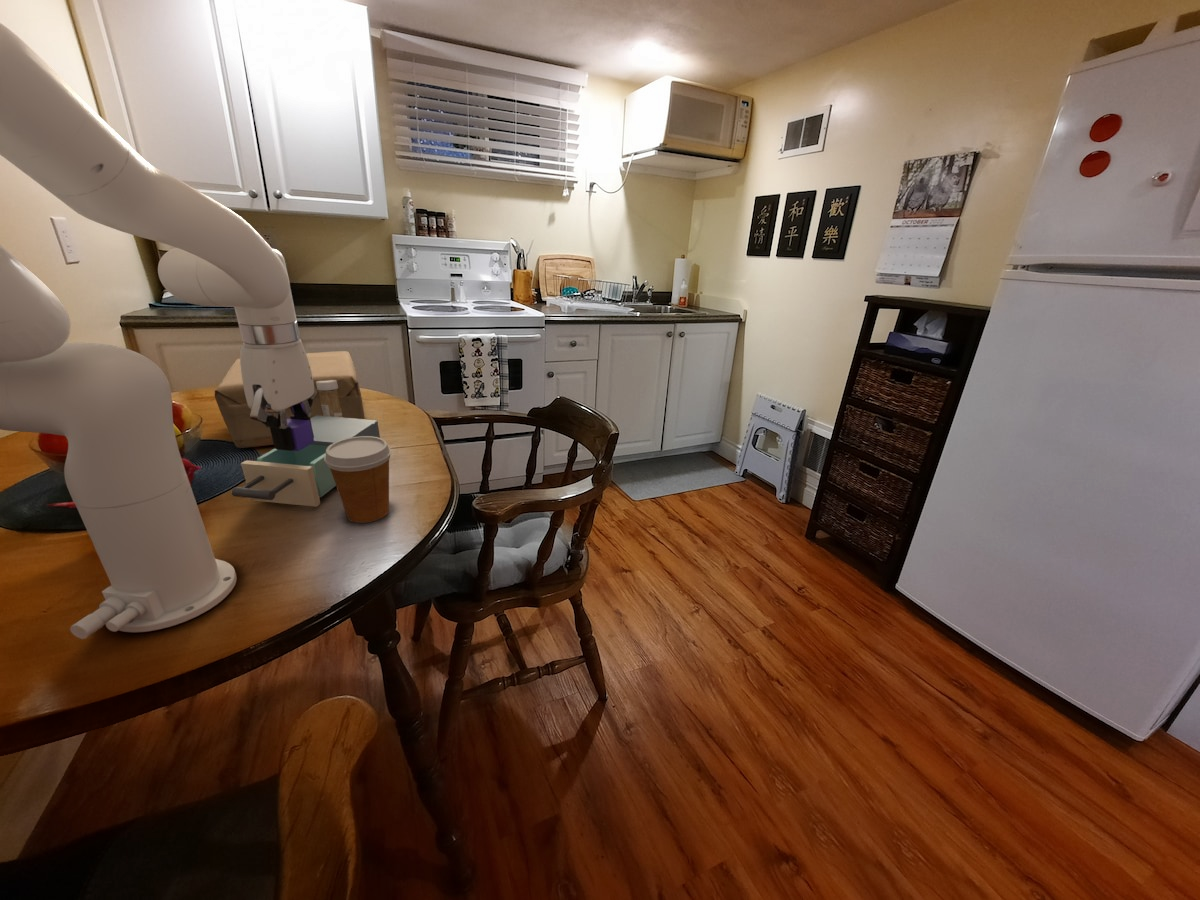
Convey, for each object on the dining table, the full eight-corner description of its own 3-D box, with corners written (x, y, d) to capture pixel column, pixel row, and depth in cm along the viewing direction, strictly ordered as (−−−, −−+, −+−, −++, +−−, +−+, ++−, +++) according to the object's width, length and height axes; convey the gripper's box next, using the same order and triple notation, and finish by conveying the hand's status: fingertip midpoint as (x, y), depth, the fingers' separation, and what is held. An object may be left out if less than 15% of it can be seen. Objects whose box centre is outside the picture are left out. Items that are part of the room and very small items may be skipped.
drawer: (292, 525, 75) (282, 486, 72) (223, 518, 76) (210, 479, 73) (352, 477, 90) (346, 443, 87) (293, 472, 91) (285, 438, 88)
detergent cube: (298, 451, 80) (293, 428, 79) (275, 449, 81) (270, 426, 79) (314, 442, 84) (309, 420, 82) (292, 440, 84) (287, 418, 83)
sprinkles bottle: (350, 440, 107) (340, 380, 102) (327, 443, 105) (315, 382, 99) (347, 433, 110) (337, 375, 105) (324, 436, 108) (312, 377, 103)
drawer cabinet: (350, 487, 88) (342, 443, 85) (285, 480, 89) (274, 437, 86) (383, 460, 99) (377, 420, 95) (324, 454, 100) (316, 415, 96)
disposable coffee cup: (337, 503, 83) (324, 438, 78) (398, 495, 87) (389, 432, 82) (334, 533, 75) (319, 463, 70) (400, 522, 79) (391, 455, 74)
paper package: (245, 412, 119) (230, 355, 114) (361, 400, 130) (353, 348, 125) (227, 454, 98) (207, 386, 92) (368, 436, 109) (358, 375, 103)
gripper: (285, 323, 83) (306, 424, 90) (201, 342, 68) (235, 462, 75) (327, 326, 82) (345, 428, 90) (252, 346, 67) (281, 467, 74)
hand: (294, 442), depth 82 cm, fingers closed on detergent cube, 4 cm apart
